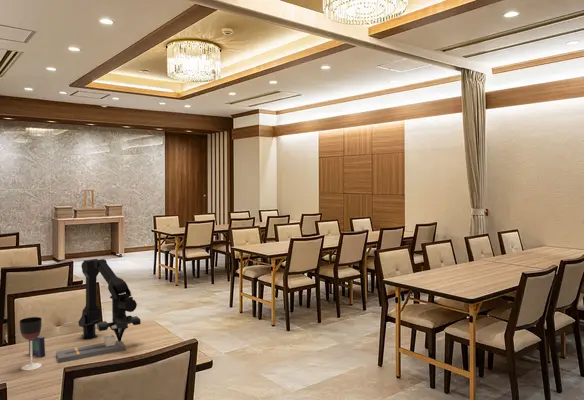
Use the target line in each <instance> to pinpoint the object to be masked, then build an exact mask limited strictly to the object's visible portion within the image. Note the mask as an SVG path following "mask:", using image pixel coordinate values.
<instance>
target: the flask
mask: <svg viewBox="0 0 584 400" xmlns="http://www.w3.org/2000/svg"><path fill="white" fill-rule="evenodd" d="M28 355H29V356H30V340H28ZM32 356H34V357H38V358H44V357H46V344H45V336H44V335H42V334H41V333H40V334H39V336H38V337H36V338H35V339H33V340H32Z"/></svg>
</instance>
